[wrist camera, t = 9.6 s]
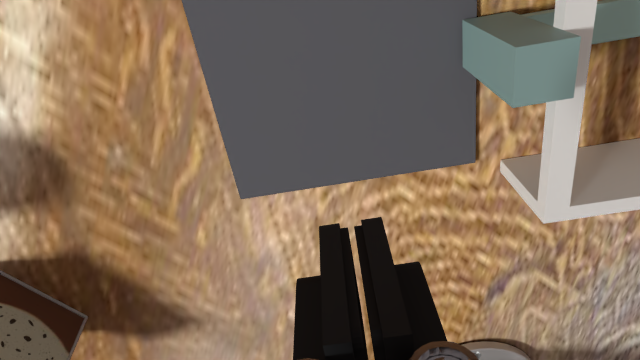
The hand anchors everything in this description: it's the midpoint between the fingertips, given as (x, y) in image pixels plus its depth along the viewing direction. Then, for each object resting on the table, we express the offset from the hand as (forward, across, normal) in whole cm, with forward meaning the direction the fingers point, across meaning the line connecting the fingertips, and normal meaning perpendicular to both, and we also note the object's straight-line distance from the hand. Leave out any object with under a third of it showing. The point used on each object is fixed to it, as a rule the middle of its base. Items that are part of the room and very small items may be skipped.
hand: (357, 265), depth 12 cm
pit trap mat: (+20, -1, -1) cm, 20 cm away
